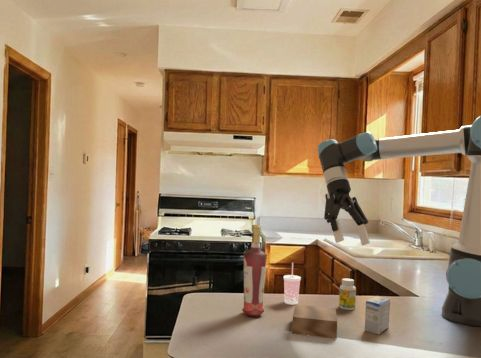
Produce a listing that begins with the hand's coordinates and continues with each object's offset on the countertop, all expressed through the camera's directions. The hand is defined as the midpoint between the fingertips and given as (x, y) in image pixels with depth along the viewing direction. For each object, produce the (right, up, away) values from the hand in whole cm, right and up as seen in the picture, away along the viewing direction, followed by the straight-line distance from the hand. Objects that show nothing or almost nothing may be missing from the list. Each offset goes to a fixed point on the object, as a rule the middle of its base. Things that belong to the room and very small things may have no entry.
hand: (353, 242), depth 129 cm
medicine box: (+4, -24, -10) cm, 26 cm away
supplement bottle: (+1, -24, +10) cm, 26 cm away
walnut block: (-15, -23, -12) cm, 30 cm away
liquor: (-32, -22, -2) cm, 39 cm away
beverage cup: (-18, -23, +13) cm, 32 cm away
